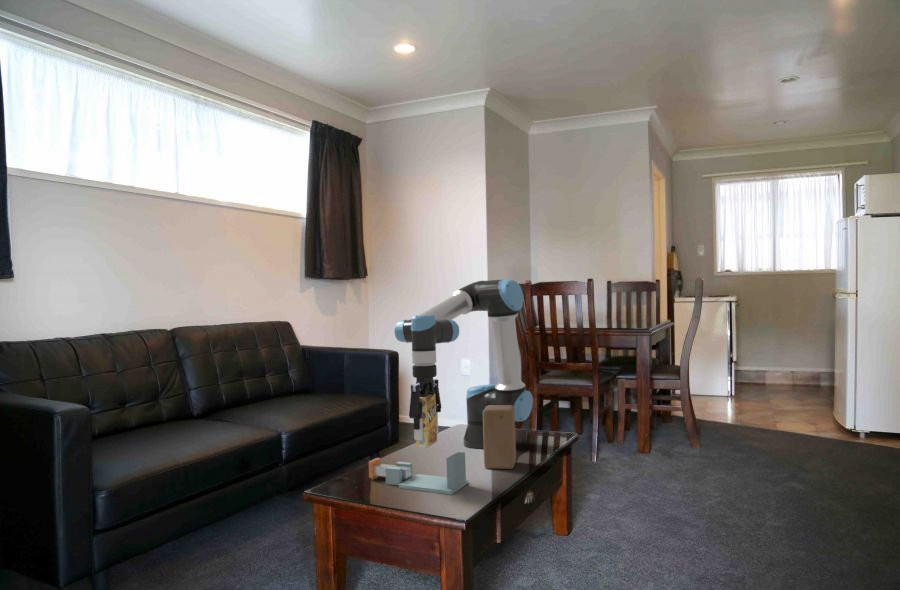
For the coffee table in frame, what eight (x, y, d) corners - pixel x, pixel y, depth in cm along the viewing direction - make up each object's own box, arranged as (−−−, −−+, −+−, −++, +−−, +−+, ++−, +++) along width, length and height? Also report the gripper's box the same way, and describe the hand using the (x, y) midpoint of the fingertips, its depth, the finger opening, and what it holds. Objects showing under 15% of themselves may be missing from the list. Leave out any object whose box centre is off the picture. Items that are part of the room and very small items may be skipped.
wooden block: (513, 470, 201) (511, 410, 201) (483, 469, 203) (482, 409, 203) (516, 461, 211) (514, 404, 211) (488, 461, 213) (486, 404, 213)
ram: (377, 473, 199) (377, 457, 199) (412, 477, 193) (412, 461, 193) (369, 477, 195) (368, 461, 195) (404, 482, 189) (404, 465, 189)
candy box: (428, 448, 183) (426, 397, 183) (415, 447, 184) (413, 397, 184) (437, 441, 191) (436, 393, 192) (425, 440, 193) (423, 393, 193)
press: (402, 475, 199) (401, 444, 199) (468, 483, 188) (467, 451, 188) (382, 485, 188) (381, 453, 188) (451, 494, 177) (450, 460, 177)
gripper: (430, 360, 200) (432, 428, 199) (395, 367, 180) (397, 443, 180) (450, 360, 196) (452, 430, 196) (417, 368, 177) (419, 445, 176)
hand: (426, 436), depth 188 cm, fingers closed on candy box, 9 cm apart
